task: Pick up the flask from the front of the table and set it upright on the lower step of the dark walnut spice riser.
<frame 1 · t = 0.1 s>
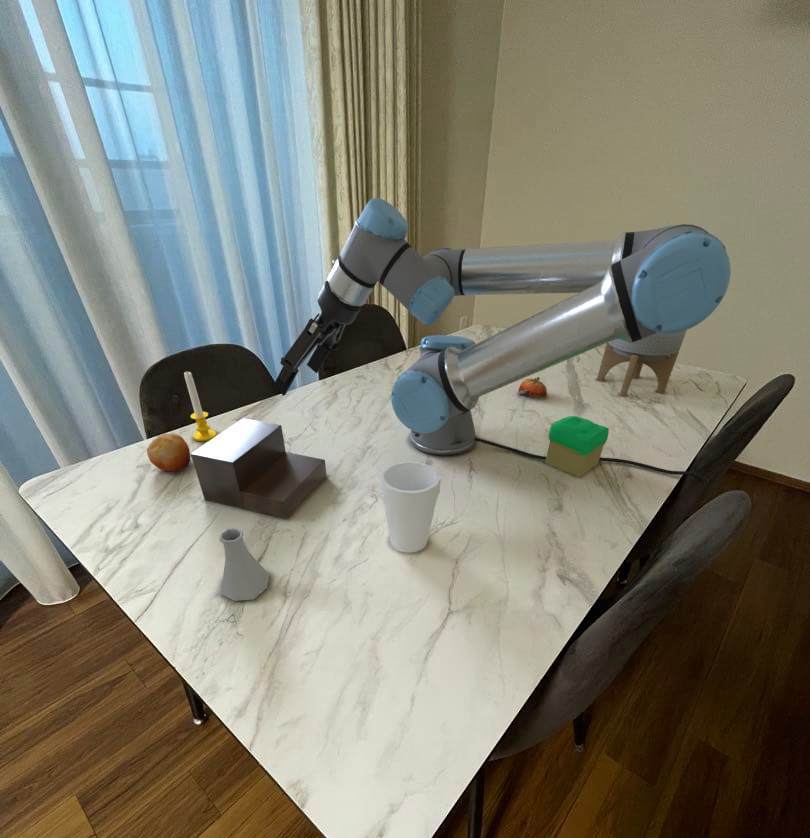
hand: (296, 379, 98), 15 cm above the table, tool tilted 35°, fingers open, 13 cm apart
fruit: (174, 467, 100), on the table
planter: (629, 386, 138), on the table
cake: (569, 463, 103), on the table
candle: (205, 437, 111), on the table
tomato: (531, 396, 132), on the table
spice riser: (268, 487, 94), on the table
flask: (246, 586, 72), on the table
foam cup: (408, 541, 81), on the table
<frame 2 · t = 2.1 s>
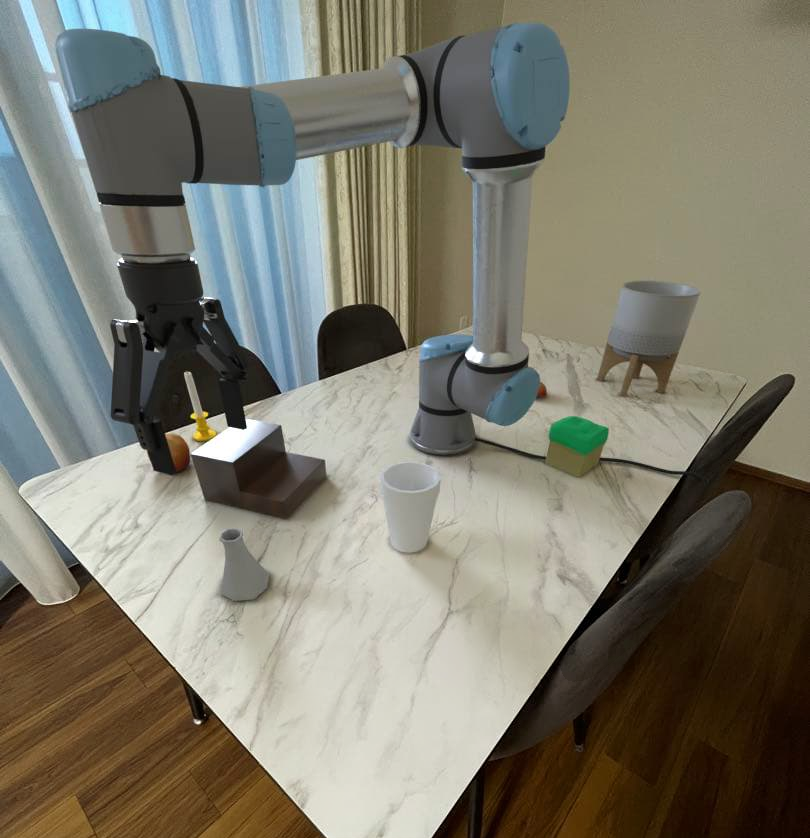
hand: (204, 447, 60), 22 cm above the table, tool pointing down, fingers open, 13 cm apart
nothing on the table moved.
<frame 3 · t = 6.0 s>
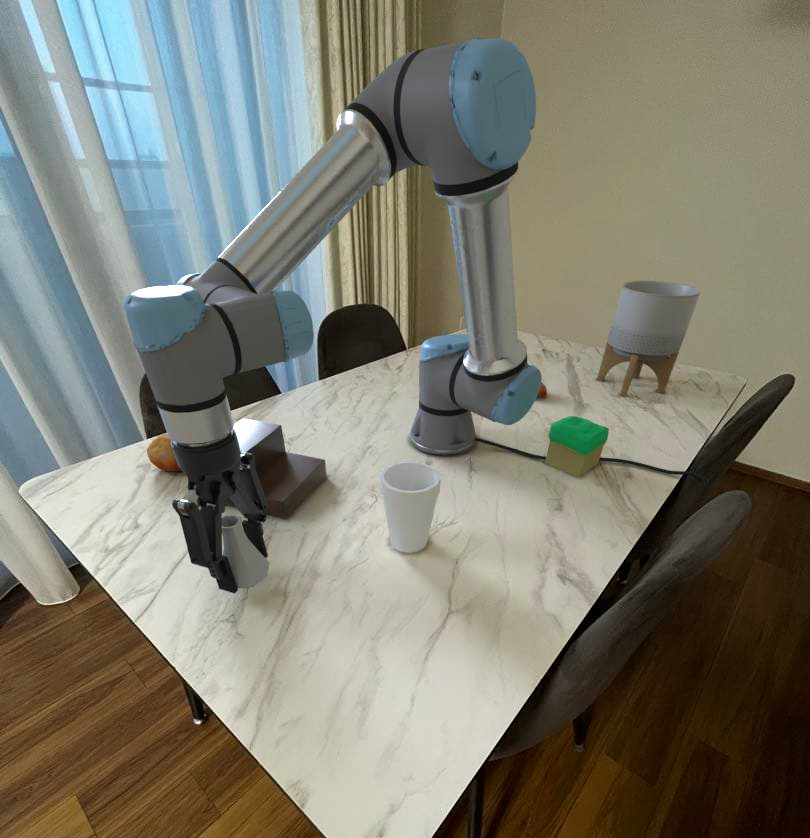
hand: (244, 571, 71), 3 cm above the table, tool pointing down, fingers closed on flask, 7 cm apart
flask: (245, 574, 71), point 2 cm above the table, touching gripper
everything else where it was.
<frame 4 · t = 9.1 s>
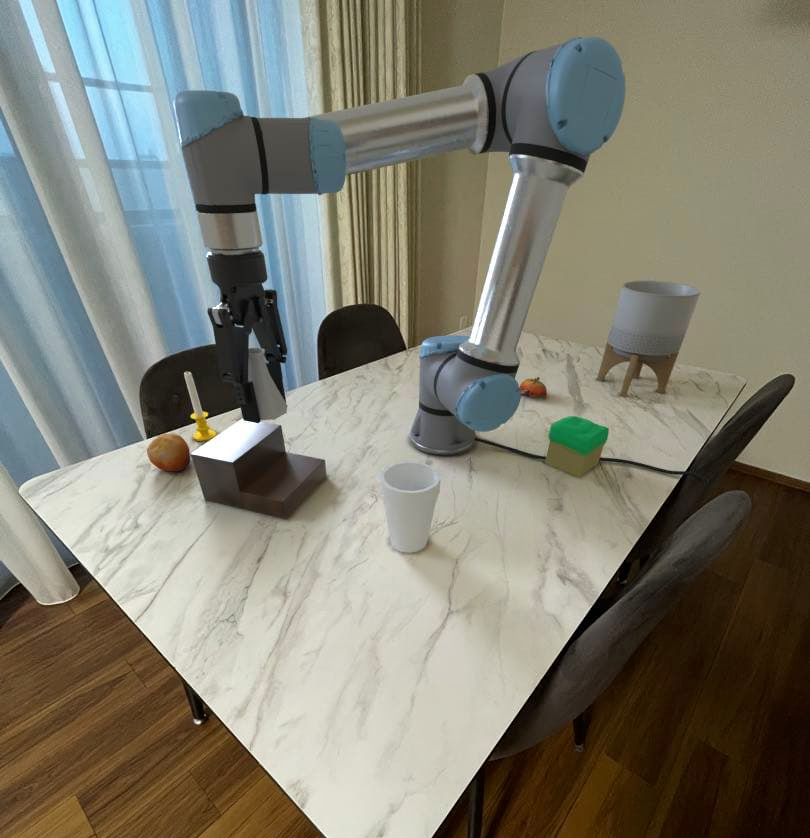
hand: (265, 411, 78), 19 cm above the table, tool pointing down, fingers closed on flask, 7 cm apart
flask: (266, 413, 78), point 18 cm above the table, touching gripper
everything else where it was.
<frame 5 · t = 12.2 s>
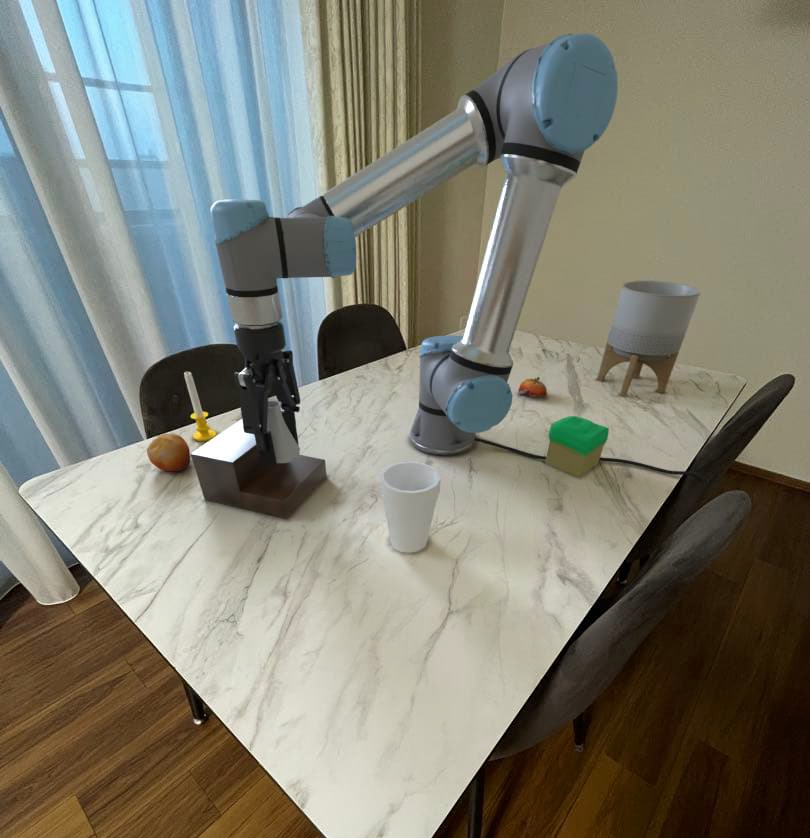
hand: (280, 453, 87), 8 cm above the table, tool pointing down, fingers closed on flask, 7 cm apart
flask: (281, 456, 87), point 8 cm above the table, touching gripper
everything else where it was.
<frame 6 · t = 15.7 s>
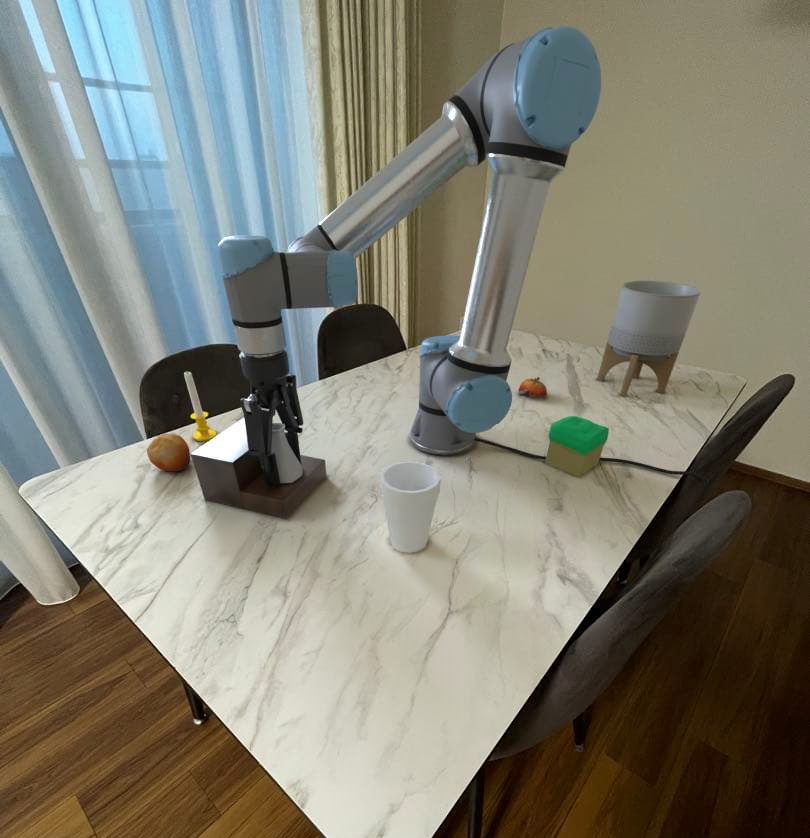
hand: (284, 473, 90), 4 cm above the table, tool pointing down, fingers closed on flask, 7 cm apart
flask: (284, 475, 90), point 4 cm above the table, touching gripper
everything else where it was.
when the fingers open (5 cm above the table, at t = 18.3 s): flask stays where it is, resting on spice riser.
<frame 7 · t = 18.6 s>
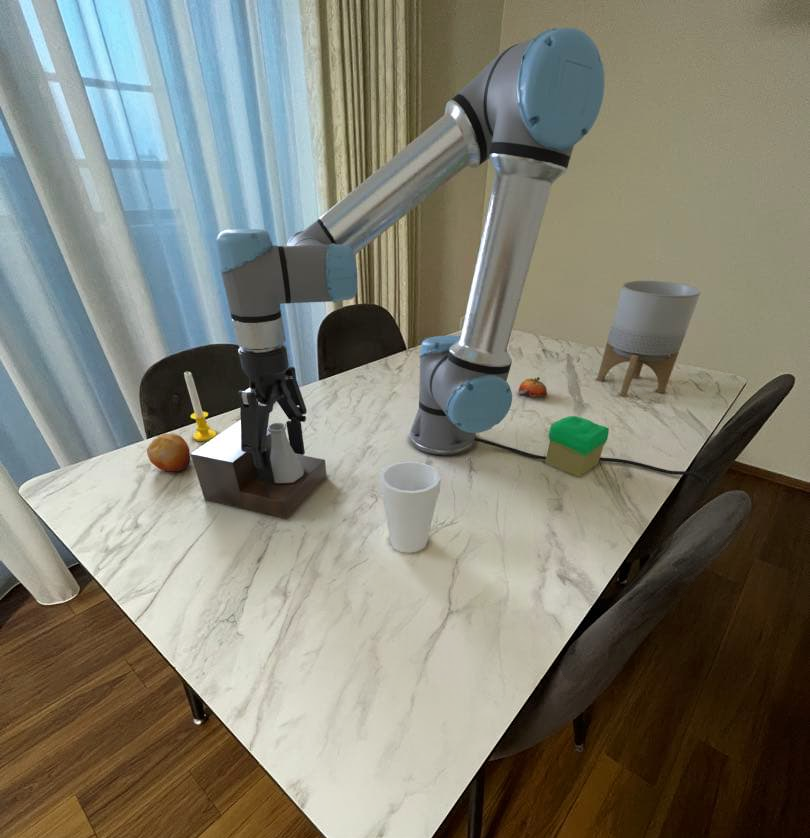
hand: (283, 466, 89), 6 cm above the table, tool pointing down, fingers open, 10 cm apart
flask: (285, 475, 90), point 4 cm above the table, touching spice riser
everything else where it was.
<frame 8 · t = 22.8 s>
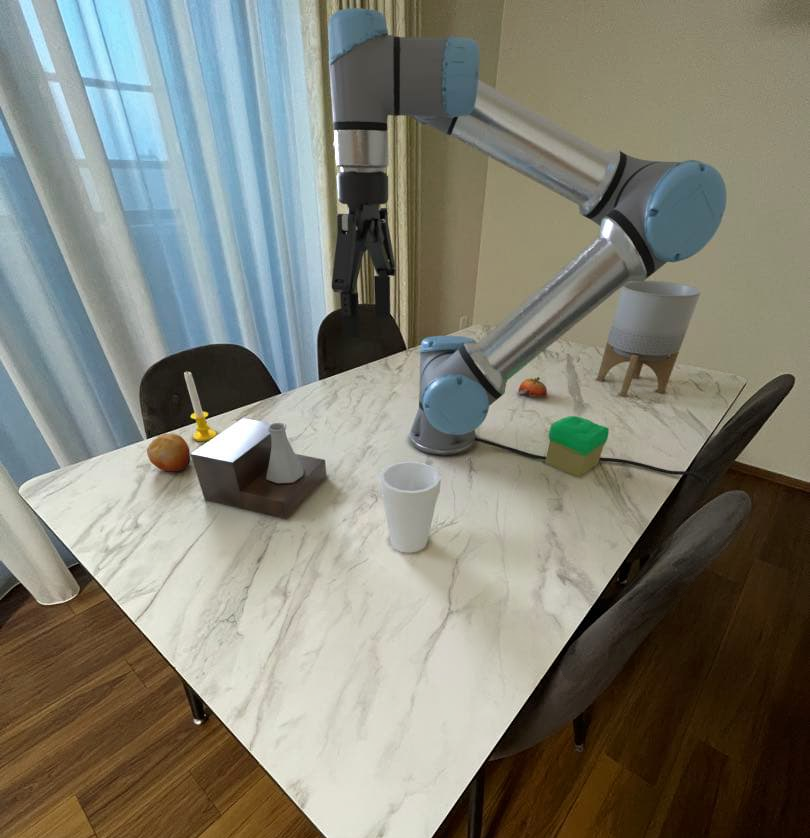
hand: (368, 326, 82), 29 cm above the table, tool pointing down, fingers open, 13 cm apart
nothing on the table moved.
at the end: spice riser 0.0 cm off-centre on the spice riser, point 0.0 cm above the spice riser's base; flask inside the target area on the spice riser (0.2 cm from its centre), point 3.8 cm above the spice riser's base; flask tilted 0° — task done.
